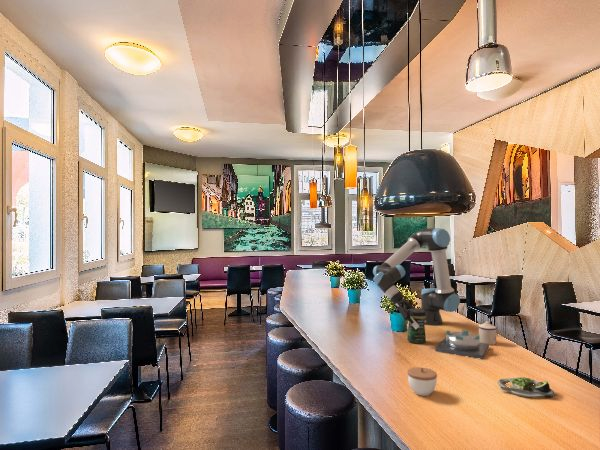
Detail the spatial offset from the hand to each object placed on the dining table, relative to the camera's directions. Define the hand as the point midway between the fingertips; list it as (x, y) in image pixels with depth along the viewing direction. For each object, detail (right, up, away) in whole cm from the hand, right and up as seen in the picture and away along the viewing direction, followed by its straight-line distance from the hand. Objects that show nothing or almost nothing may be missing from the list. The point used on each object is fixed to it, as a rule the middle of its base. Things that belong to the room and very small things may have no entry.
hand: (421, 325), depth 208 cm
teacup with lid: (+37, -10, +1) cm, 38 cm away
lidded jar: (-21, -8, -65) cm, 69 cm away
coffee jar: (-2, -10, +1) cm, 10 cm away
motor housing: (+18, -9, -12) cm, 23 cm away
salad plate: (+21, -9, -62) cm, 66 cm away
